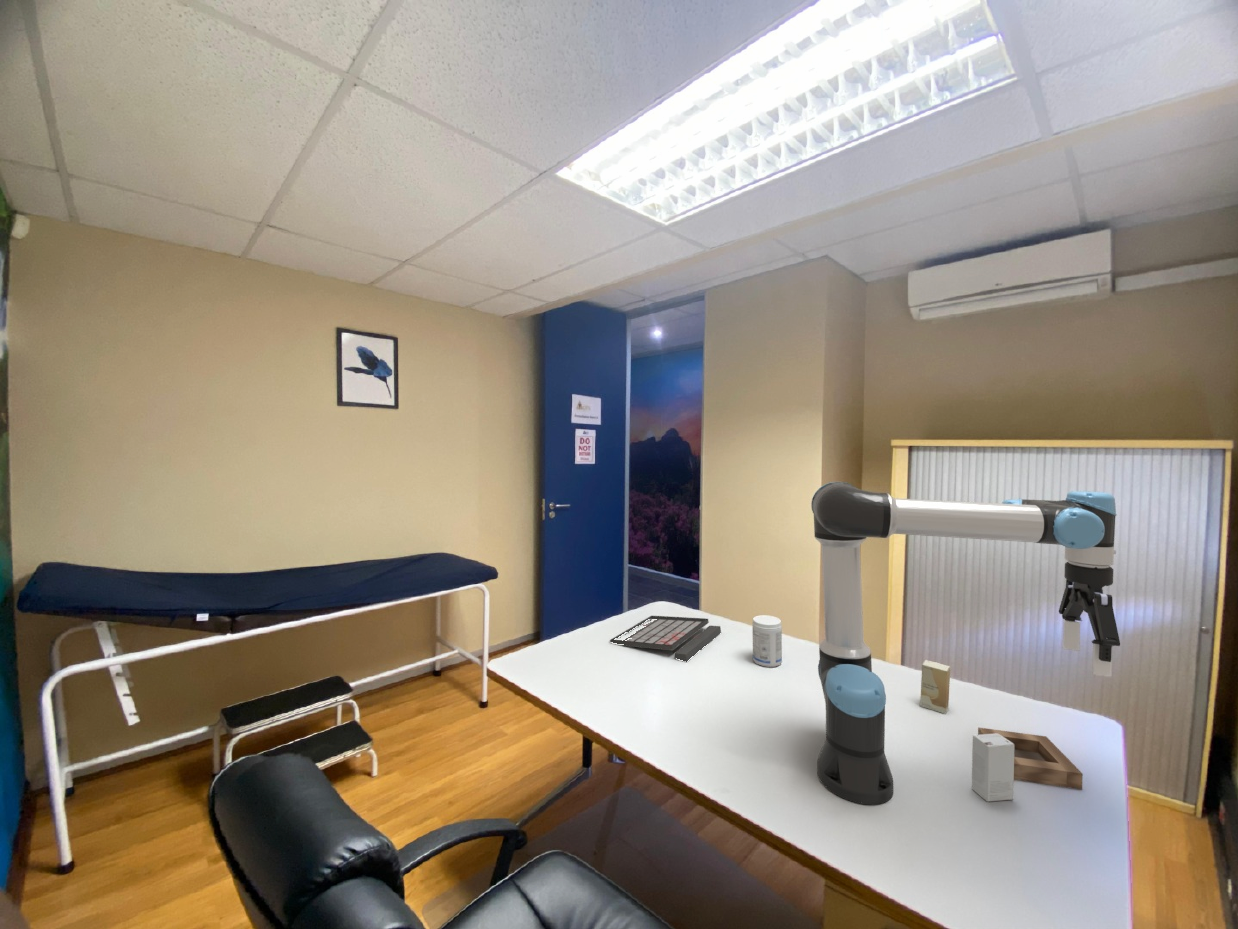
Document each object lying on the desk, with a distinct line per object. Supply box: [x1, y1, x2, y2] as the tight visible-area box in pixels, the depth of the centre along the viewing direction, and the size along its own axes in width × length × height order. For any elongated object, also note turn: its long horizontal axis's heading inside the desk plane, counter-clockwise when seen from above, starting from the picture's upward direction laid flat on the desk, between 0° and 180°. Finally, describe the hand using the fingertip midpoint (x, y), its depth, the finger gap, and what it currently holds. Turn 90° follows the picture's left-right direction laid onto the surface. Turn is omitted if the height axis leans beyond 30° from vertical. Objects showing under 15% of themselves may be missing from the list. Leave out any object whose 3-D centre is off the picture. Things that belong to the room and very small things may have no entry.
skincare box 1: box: [919, 659, 951, 714], centre depth 137 cm, size 6×4×12 cm
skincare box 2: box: [971, 733, 1015, 802], centre depth 103 cm, size 6×4×12 cm
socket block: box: [977, 727, 1084, 791], centre depth 113 cm, size 14×14×4 cm
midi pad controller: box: [609, 615, 722, 663], centre depth 189 cm, size 32×7×31 cm
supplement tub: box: [752, 614, 783, 668], centre depth 167 cm, size 10×10×15 cm
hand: (1085, 661), depth 105 cm, fingers open, 13 cm apart
